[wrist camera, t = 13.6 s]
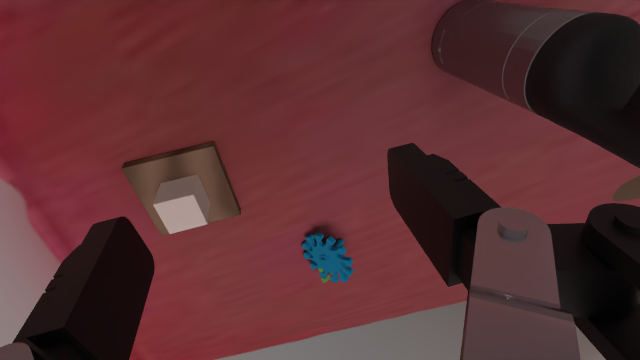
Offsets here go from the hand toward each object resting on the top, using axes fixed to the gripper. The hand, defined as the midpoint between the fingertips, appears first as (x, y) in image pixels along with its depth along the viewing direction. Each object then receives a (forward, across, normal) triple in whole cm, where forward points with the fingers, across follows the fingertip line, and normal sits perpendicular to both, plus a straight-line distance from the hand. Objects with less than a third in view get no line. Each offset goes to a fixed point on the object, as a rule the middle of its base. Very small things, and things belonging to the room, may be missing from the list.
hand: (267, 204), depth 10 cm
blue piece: (+34, -3, +36) cm, 50 cm away
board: (+34, +14, +18) cm, 41 cm away
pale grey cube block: (+32, +14, +18) cm, 40 cm away
